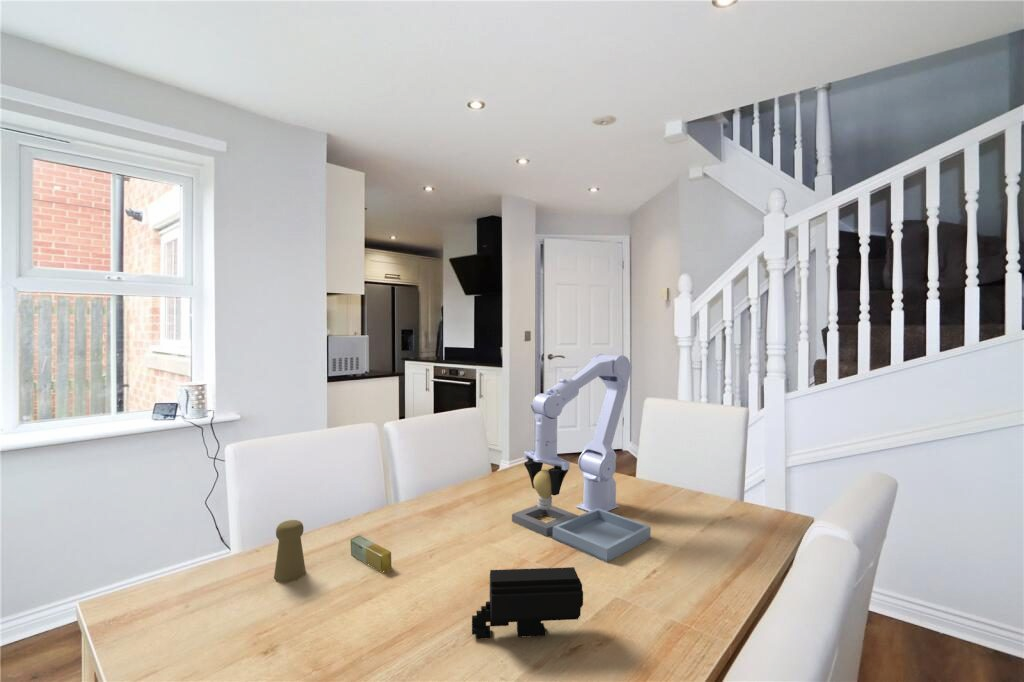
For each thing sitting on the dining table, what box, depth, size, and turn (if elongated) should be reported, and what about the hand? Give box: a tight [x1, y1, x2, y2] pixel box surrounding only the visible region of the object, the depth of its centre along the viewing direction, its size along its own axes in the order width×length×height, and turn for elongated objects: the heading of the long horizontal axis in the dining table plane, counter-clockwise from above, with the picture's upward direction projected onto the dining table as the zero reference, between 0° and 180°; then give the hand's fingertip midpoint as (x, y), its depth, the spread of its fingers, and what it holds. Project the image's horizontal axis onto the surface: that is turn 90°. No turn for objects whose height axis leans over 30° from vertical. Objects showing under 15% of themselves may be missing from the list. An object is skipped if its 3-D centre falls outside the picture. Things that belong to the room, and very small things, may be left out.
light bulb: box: [533, 469, 553, 510], centre depth 129 cm, size 6×6×10 cm
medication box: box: [350, 535, 392, 573], centre depth 107 cm, size 12×3×4 cm, turn 50°
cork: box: [273, 519, 307, 583], centre depth 101 cm, size 6×6×11 cm
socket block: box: [511, 504, 580, 538], centre depth 129 cm, size 12×12×2 cm
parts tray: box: [552, 508, 652, 563], centre depth 120 cm, size 18×16×3 cm
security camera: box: [471, 566, 584, 640], centre depth 83 cm, size 7×18×10 cm, turn 95°
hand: (545, 491), depth 129 cm, fingers closed on light bulb, 6 cm apart
